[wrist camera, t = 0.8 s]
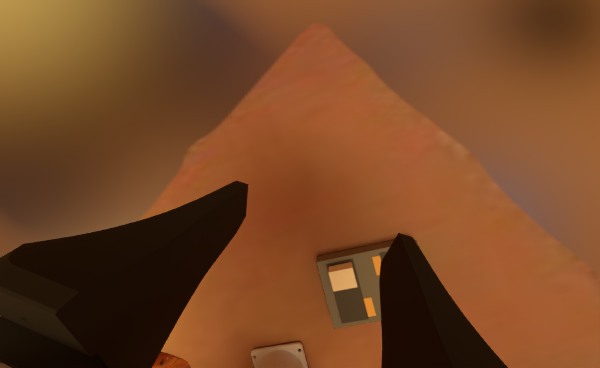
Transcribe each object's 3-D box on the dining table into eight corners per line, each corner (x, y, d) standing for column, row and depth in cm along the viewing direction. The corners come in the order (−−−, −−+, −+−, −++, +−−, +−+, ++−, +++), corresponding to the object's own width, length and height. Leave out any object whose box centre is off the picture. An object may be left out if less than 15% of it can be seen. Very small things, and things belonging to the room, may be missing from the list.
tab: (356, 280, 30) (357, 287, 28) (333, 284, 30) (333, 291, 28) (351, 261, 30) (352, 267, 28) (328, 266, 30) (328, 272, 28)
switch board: (427, 301, 31) (436, 312, 28) (333, 317, 33) (333, 328, 30) (410, 236, 31) (416, 241, 29) (317, 256, 33) (316, 262, 31)
